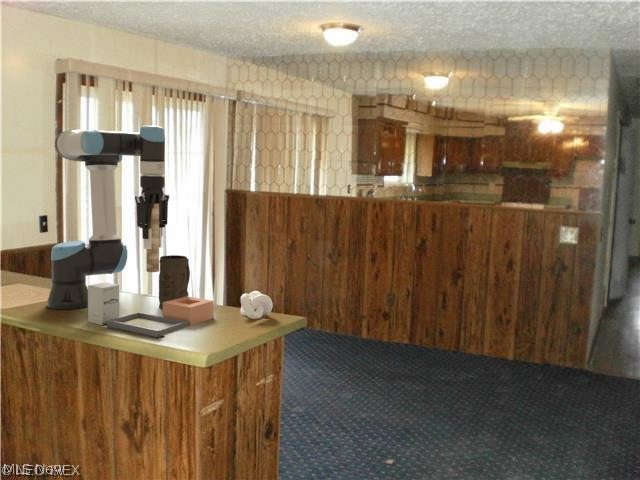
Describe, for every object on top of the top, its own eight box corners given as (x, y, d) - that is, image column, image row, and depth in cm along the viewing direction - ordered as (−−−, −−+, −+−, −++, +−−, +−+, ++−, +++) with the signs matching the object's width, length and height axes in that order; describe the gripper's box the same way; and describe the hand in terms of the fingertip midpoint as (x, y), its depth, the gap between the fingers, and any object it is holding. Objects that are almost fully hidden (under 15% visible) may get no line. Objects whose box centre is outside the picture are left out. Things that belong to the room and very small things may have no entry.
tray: (107, 327, 206) (107, 320, 206) (138, 319, 218) (138, 311, 218) (157, 338, 195) (157, 330, 195) (188, 328, 208) (188, 321, 207)
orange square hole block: (162, 322, 214) (162, 302, 213) (186, 315, 225) (186, 296, 224) (190, 328, 208) (190, 307, 208) (213, 320, 219) (213, 300, 218)
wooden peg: (143, 271, 205) (143, 203, 202) (152, 269, 208) (152, 202, 205) (153, 272, 203) (153, 204, 200) (161, 270, 207) (161, 203, 204)
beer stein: (180, 313, 227) (182, 258, 225) (152, 311, 229) (154, 256, 227) (197, 307, 242) (198, 255, 240) (170, 305, 244) (172, 253, 243)
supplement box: (102, 325, 209) (101, 287, 207) (87, 321, 212) (86, 284, 211) (120, 321, 215) (119, 284, 213) (105, 317, 219) (105, 281, 217)
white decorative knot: (260, 324, 216) (260, 298, 215) (230, 319, 221) (230, 294, 220) (275, 317, 227) (276, 292, 226) (246, 312, 232) (246, 288, 230)
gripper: (142, 176, 192) (142, 252, 195) (179, 175, 207) (179, 246, 210) (124, 175, 196) (124, 249, 199) (161, 174, 211) (161, 244, 214)
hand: (152, 247), depth 205 cm, fingers closed on wooden peg, 4 cm apart
